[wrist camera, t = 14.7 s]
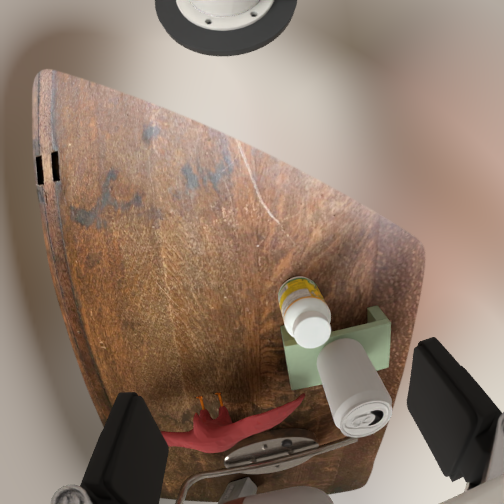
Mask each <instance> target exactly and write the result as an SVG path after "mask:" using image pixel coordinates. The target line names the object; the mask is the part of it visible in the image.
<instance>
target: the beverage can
mask: <svg viewBox="0 0 504 504" xmlns="http://www.w3.org/2000/svg"><path fill="white" fill-rule="evenodd" d="M317 369H318V372H319V375H320V378H321V381H322V384H323V387H324V391H325V394H326V397H327V400H328V403H329V406H330V410H331V413H332V416H333V419H334V422H335V425H336V426H337V427H338V428H339V429H341V432H342V433H343V434H344V435H346V436H348V437H354V438H357V437H364V436H368V435H370V434H373V433H375V432H377V431H378V430H380V429H381V428H382V427H384V426H385V425H386V423H387V422H388V421H389V420H390V418H391V416H392V407H391V404H392V400H391V397H390V395H389V393H388V391H387V390H386V388H385V386H384V384H383V382H382V380H381V379H380V377H379V375H378V373H377V371H376V369H375V368H374V366H373V364H372V362H371V360H370V359H369V357H368V355H367V353H366V351H365V350H364V348H363V346H362V345H361V344H360V343H359V342H358V341H356V340H354V339H350V338H343V339H338V340H335V341H333V342H331V343H329V344H328V345H326V346H325V347H324V348H323V349H322V350H321V352H320V353H319V355H318V358H317Z"/></svg>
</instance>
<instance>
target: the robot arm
mask: <svg viewBox="0 0 504 504" xmlns="http://www.w3.org/2000/svg"><path fill="white" fill-rule="evenodd" d="M176 2H177V5H178V8H179V10H180V11H181V13H182V14H183V16H184V17H186V18H187V19H188V20H189V21H190V22H192V23H194V24H195V25H197V26H200V27H202V28H205V29H210V30H217V31H227V30H235V29H240V28H244V27H246V26H249V25H251V24H253V23H255V22H256V21H258V20H260V19H261V18H262V17H263V16H264V15H265V14H266V13H267V12H268V11H269V9H270V8H271V6H272V4H273V2H274V0H176ZM253 15H255V16H256V17H252V16H253ZM209 22H210V23H211V24H208V23H209ZM407 407H408V410H409V412H410V413H411V415H412V417H413V419H414V421H415V422H416V424H417V426H418V428H419V430H420V431H421V433H422V435H423V437H424V439H425V440H426V442H427V444H428V446H429V448H430V450H431V451H432V453H433V455H434V457H435V459H436V461H437V463H438V465H439V467H440V468H441V470H442V472H443V474H444V475H445V476H446V477H447V476H449V477H450V479H451V480H452V482H453V481H455V480H457V479H460V478H461V477H464V479H465V481H466V482H467V484H466V488H465V491H464V493H462V494H460V495H458V496H456V497H453V498H451V499H449V500H447V501H445V502H442V503H440V504H504V413H502V412H501V411H500V410H499V409H498V408H497V406H496V405H495V404H494V403H493V401H492V400H491V399H490V398H489V397H488V395H487V394H486V393H485V392H484V390H483V389H482V388H481V387H480V386H479V385H478V383H477V382H476V381H475V380H474V379H473V377H471V375H470V374H469V373H468V372H467V370H466V369H465V368H463V367H462V366H460V365H459V363H458V362H457V361H456V360H455V359H454V358H453V357H452V355H451V354H450V353H449V352H448V351H447V350H446V349H445V348H444V346H443V345H442V344H441V343H440V342H439V341H438V340H437V339H436V338H435V337H432V338H429V339H426V340H423V341H420V342H419V343H418V346H417V347H415V348H414V354H413V362H412V370H411V378H410V386H409V392H408V398H407ZM168 451H169V450H168V444H167V442H166V440H165V439H164V437H163V435H162V433H161V432H160V430H159V428H158V426H157V424H156V422H155V421H154V419H153V417H152V415H151V413H150V411H149V409H148V407H147V405H146V403H145V401H144V399H143V398H142V397H141V396H138V395H137V393H135V392H126V393H119V394H118V396H117V398H116V400H115V403H114V405H113V407H112V410H111V412H110V414H109V417H108V419H107V421H106V424H105V426H104V429H103V431H102V432H101V435H100V437H99V439H98V442H97V444H96V447H95V449H94V452H93V454H92V457H91V459H90V462H89V464H88V467H87V470H86V472H85V475H84V477H83V480H82V483H81V485H80V486H77V485H66V486H63V487H61V488H60V489H58V491H56V492H55V494H54V495H53V497H52V500H51V504H159V499H160V494H161V489H162V483H163V478H164V473H165V468H166V462H167V457H168Z"/></svg>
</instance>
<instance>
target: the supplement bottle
mask: <svg viewBox="0 0 504 504" xmlns="http://www.w3.org/2000/svg"><path fill="white" fill-rule="evenodd" d="M278 301H279V305H280V309H281V313H282V317H283V321H284V325H285V328H286V330H287V332H288V333H289V334H290V335H291V336H293V337H294V338H295V341H296V342H297V343H298V344H299V345H300V346H302V347H304V348H316V347H319V346H321V345H323V344H324V343H325V342H326V341H327V340H328V339H329V337H330V335H331V326H330V321H331V313H330V310H329V308H328V306H327V304H326V302H325V300H324V298H323V296H322V294H321V293H320V291H319V289H318V287H317V285H316V284H315V283H314V282H313V281H312V280H310V279H308V278H306V277H302V276H298V277H293V278H291V279H289V280H287V281H286V282H285V283H284V284H283V285H282V286H281V288H280V290H279V293H278Z"/></svg>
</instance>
